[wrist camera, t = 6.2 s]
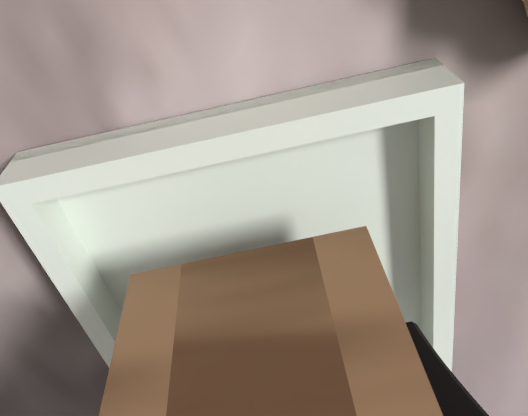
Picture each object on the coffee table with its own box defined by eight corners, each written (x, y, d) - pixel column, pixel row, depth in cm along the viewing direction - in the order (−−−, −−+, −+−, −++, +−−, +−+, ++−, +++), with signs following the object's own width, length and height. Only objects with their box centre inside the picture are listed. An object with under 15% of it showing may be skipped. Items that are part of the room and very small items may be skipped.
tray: (435, 57, 11) (464, 82, 10) (433, 337, 17) (451, 377, 15) (17, 152, 12) (-10, 187, 10) (156, 390, 17) (151, 432, 16)
